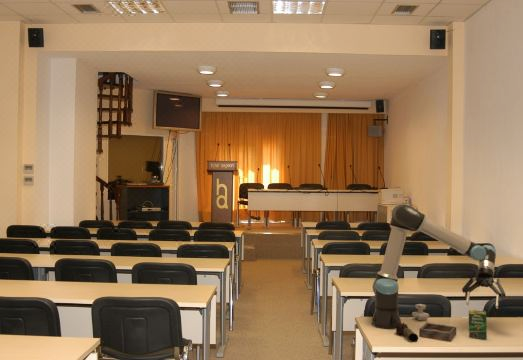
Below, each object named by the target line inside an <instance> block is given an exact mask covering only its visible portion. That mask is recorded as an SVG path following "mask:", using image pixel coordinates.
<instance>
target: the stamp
mask: <svg viewBox="0 0 523 360" xmlns="http://www.w3.org/2000/svg"><path fill="white" fill-rule="evenodd" d="M414 306H415V309H416V310H417V311H413V312H412V313H411V315H412V317H413V318H415V320H416V319H418V320H417V321H419V320H422V321H426V320H427V319H428V318H429V317H430V314H429V313H428V312H427V313H426V312H424V310H426V307H427V305H426V304H423V303H418V304H415V305H414Z"/></svg>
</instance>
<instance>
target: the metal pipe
mask: <svg viewBox="0 0 523 360" xmlns="http://www.w3.org/2000/svg"><path fill="white" fill-rule="evenodd" d="M395 330H396V331H395V332H396V335H398V336H401V337H402V336H403V337H406V338H407V339H408V340H409V341H410V342H411V343H417V342H418V340H419V336H418V334H417V333H415V332H414V331H413V330H412V329H411V328H409V326H408V324H407V323H405V322H403V323H402V321H401V322H400V323H398V324H396V329H395Z"/></svg>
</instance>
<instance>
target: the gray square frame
mask: <svg viewBox="0 0 523 360" xmlns="http://www.w3.org/2000/svg"><path fill="white" fill-rule="evenodd" d="M418 329H419V333H418V334H419V336H418V338H419V337H420V338H426V339H432V340H436V341H437V340H438V341H444V342H449V343H450V342H452V341H453V339H454V338H455V337H456V336H457V326H452V325H451V326H450V325H446V324H445V325H444V324H439V323H430V322H425V324H423V325H422V326H420V328H418Z"/></svg>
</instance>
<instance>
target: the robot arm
mask: <svg viewBox="0 0 523 360" xmlns="http://www.w3.org/2000/svg"><path fill="white" fill-rule="evenodd" d="M389 227H390V233H389V238H388V241H387V245H386V248H385V253H384V256H383V260H382V265H381V267H380V270H379V271H378V272H377V273H376V275H375V279H374V281H373V284H372V292H373V294H374V296H375V297H374V298H375V300H374V301H375V302H374V303H375V309H374V312H373V316H372V318H371V325H372V326H374V327H376V328H379V329H387V330H390V329H391V330H396V324H398V323H400V322H401V323H402V320H401V316H400V314H399V283H398V280H399V278H398V275H397V274H398V269H399V264H400V262H401V261H400V260H401V257H402V254H403V251H404V246H405V243H406V239H407V235H408V233H409V232H411V231H412V230H413V231H416V232H422V233H424V234H425V235H428V236H430V237H431V238H432V239H435V240H436V241H439V242H440V243H442V244H444V245H446V246H447V247H450V248H452V249H453V250H456V251H457V253H459V254H461V255H463V256H466V257H468V258H470V259H472V260H474V261H478V262H479V263H478V268H477V269H478V270H477V275H476V277H474V276H472V275H471V276H470V278H469V280H468V281H467V282H466V283H465V285H464V286H463V287H462V289H461V291H462V293H463V294H464V298H465V299H466V300H465V301H466V302H465V303H466V306H469V303H470V297H471V296H470V295H471V292H473V291H475V290H476V289H477V288H480V287H485V288H490V289H491V290H492V291H493V292H494V293H495V295H496V301H495V309H497V310H498V309H499V304H501V303H502V298H505V297H506V292H505V290H504V288H503V286H502V285H501V282H500V278H497V279H494V275H495V274H494V273H495V265H496V257H497V250H496V248H495V247H494V246H493V245H490V244H485V245H479V244H477V243H475V242H473V241H471V240H469V239H467V238H465V237H463V236H462V235H460V234H458V233H456V232H454V231H452V230H450V229H449V228H447V227H445V226H443V225H440V224H439V223H437V222H435V221H433V220H431V219H429V218H427V216H426V214H424V213H422V212H420V211H419V210H417V208H415V207H413V206H412V205H410V204H406V203H400V204H397V205H395V206H394V208H393V209H392V211H391V218H390V223H389ZM494 283H495V285H496V286H497V287H496V286H495V285H494Z"/></svg>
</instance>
